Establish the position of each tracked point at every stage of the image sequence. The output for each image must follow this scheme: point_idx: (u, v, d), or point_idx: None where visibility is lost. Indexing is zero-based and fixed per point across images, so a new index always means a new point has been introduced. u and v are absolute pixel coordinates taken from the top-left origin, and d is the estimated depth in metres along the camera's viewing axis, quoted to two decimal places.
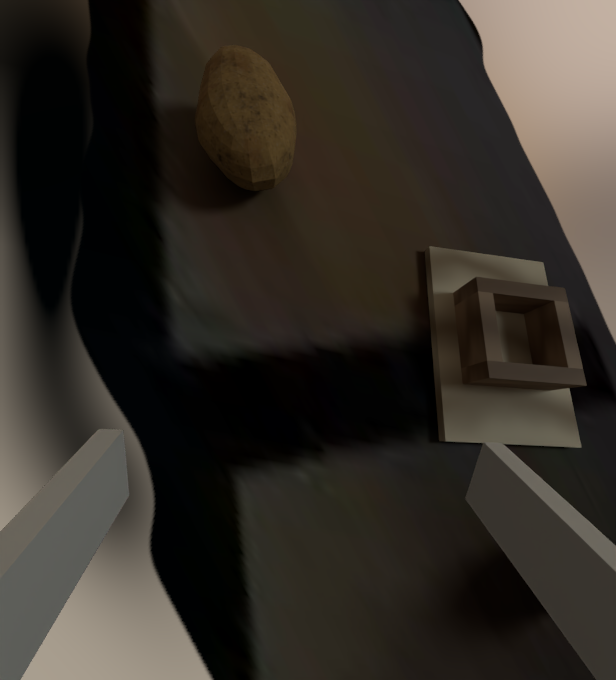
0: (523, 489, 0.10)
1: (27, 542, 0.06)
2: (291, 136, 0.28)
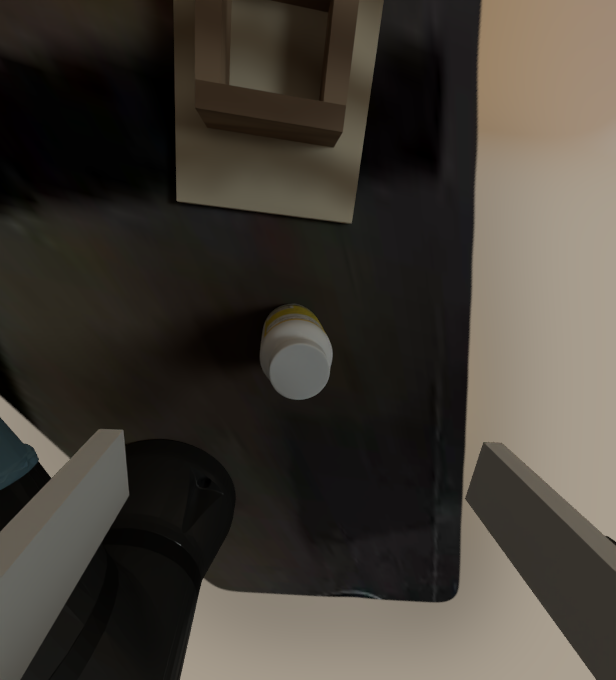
0: (523, 489, 0.10)
1: (27, 542, 0.06)
2: None
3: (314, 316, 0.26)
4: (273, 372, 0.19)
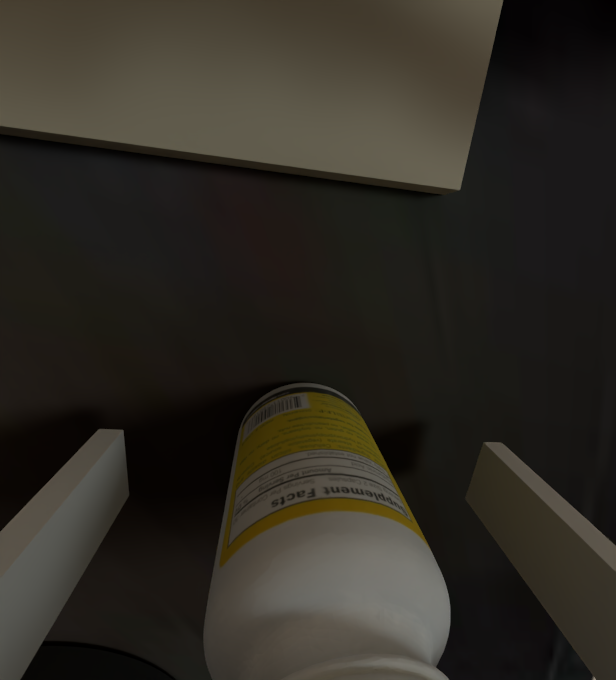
0: (523, 489, 0.10)
1: (27, 542, 0.06)
2: None
3: (361, 425, 0.10)
4: None
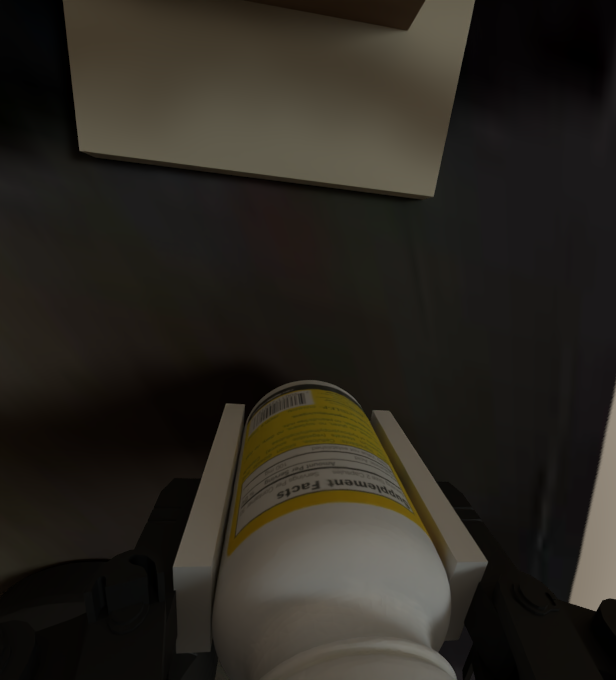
0: (388, 445, 0.11)
1: (227, 475, 0.09)
2: None
3: (364, 421, 0.11)
4: None
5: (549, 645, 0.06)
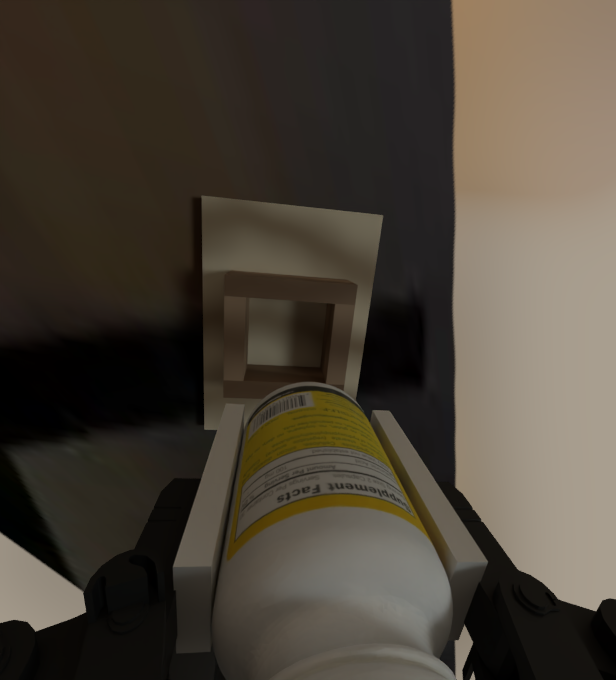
0: (388, 445, 0.11)
1: (227, 475, 0.09)
2: None
3: (365, 424, 0.11)
4: None
5: (549, 645, 0.06)
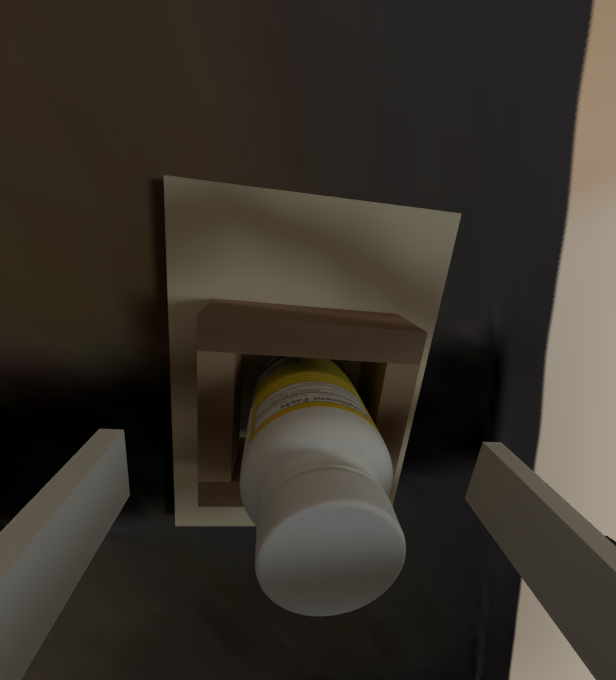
0: (522, 489, 0.10)
1: (28, 542, 0.06)
2: None
3: (344, 375, 0.14)
4: (266, 568, 0.08)
5: None
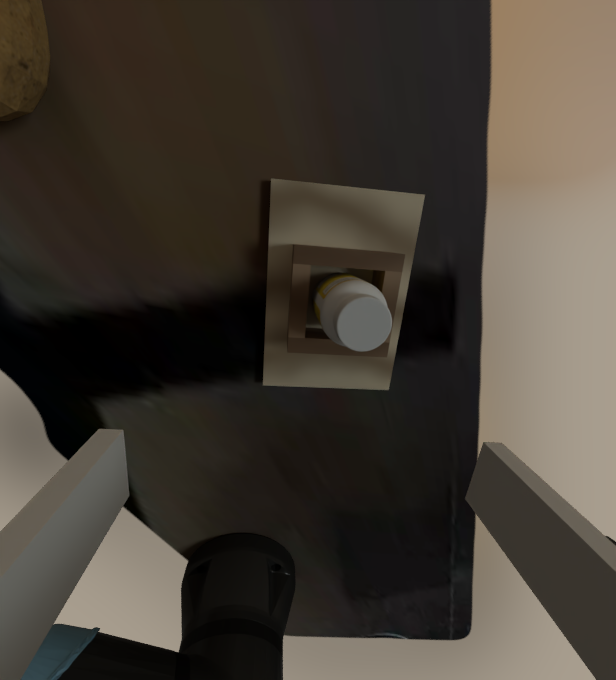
0: (523, 489, 0.10)
1: (27, 542, 0.06)
2: (9, 25, 0.18)
3: None
4: (340, 325, 0.21)
5: None
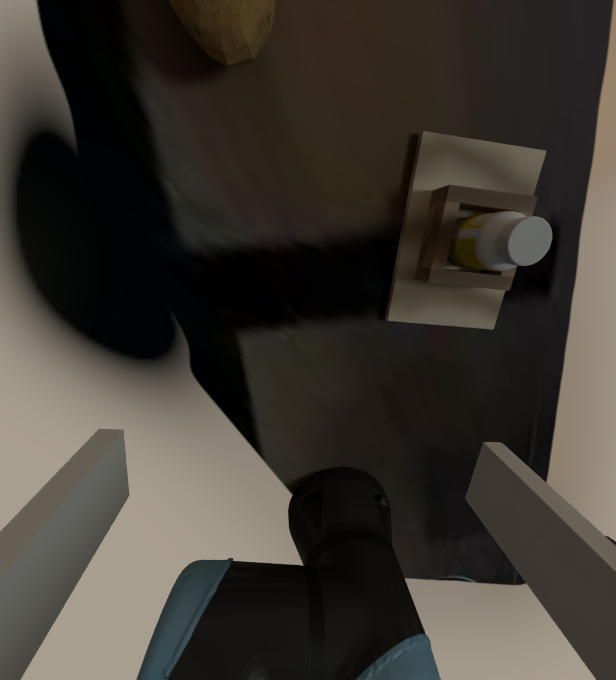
0: (523, 489, 0.10)
1: (27, 542, 0.06)
2: None
3: None
4: (511, 241, 0.25)
5: None
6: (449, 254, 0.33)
